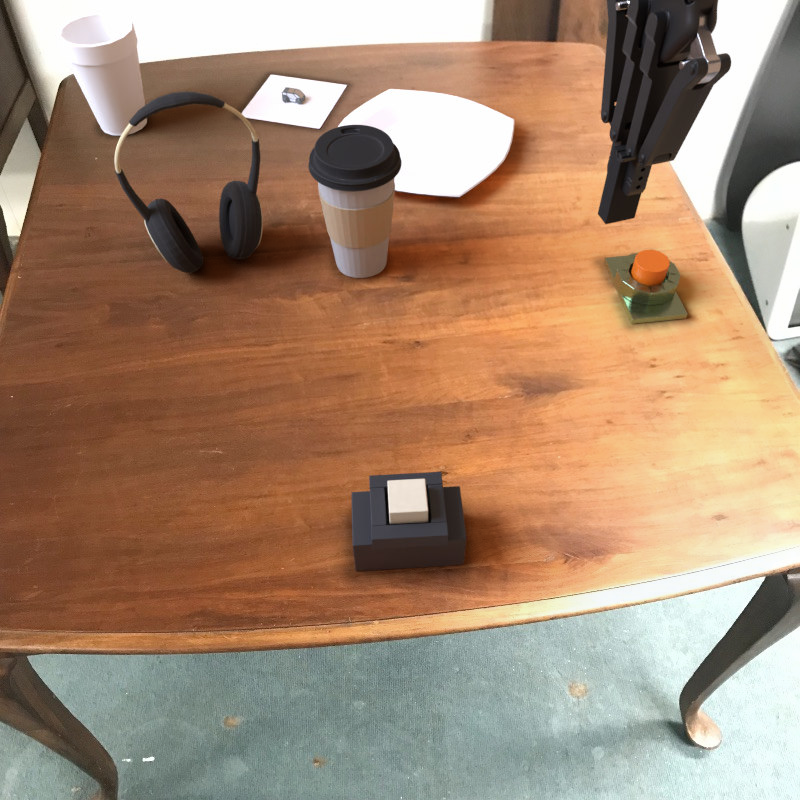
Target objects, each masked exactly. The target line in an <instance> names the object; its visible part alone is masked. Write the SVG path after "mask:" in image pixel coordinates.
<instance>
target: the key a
mask: <svg viewBox="0 0 800 800" xmlns="http://www.w3.org/2000/svg"><path fill="white" fill-rule="evenodd" d="M387 483H388V503H389V521H390V524H402V523H420V522H428V502H427V492H426V481H425V479H408V480H390V481H388V482H387Z"/></svg>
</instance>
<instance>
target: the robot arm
mask: <svg viewBox="0 0 800 800" xmlns="http://www.w3.org/2000/svg"><path fill="white" fill-rule="evenodd" d="M718 6H719V0H606V7H607V20H608V21H607V30H606V31H607V34H606V44H605V45H606V46H605V57H604V70H603V81H602V82H603V83H602V94H601V95H602V96H601V105H600V106H601V107H600V119H601V122H602V123H603V124H609V126H610V129H609V138H610V142H612V143H611V147H610V152H609V156H608V160H607V165H606V176H605V181H604V185H603V190H602V193H601V197H600V202H599V206H598V211H597V215H598V217H599V218H600V219H601V220H602V222H603V223H604V224H605V225H608V224H614V223H618V222H623V221H627V220H632V219H635V218H636V214H637V211H638V206H639V204H640V200H641V197H642V194H643V193H644V191H645V190H646V189H647V184H648V181H649V177H650V173H651V170H652V166H654V165H659V164H663V163H668V162H672V161H675V159H676V157H677V155H678V154H679V152H680V150H681V148H682V146H683V145H684V142H685V140H686V138H687V136H688V134H689V133H690V131H691V129H692V128H693V125H694V123H695V121H697V117H698V115H699V114H700V112H701V110H702V108H703V106H704V104H705V102H706V101H707V99H708V97H709V95H710V93H711V91H712V89H713V87H714V86H715V85H716V84H717V83H718V82H719V81H720V80H721V79H722V78H723V77H725V75H727V73H728V72H729V71H730V70H731V68H732V59H731V56H730V54H729V53H728V52H727V53H726V52H724V53H717V49H716V46H715V42H714V40H713V37H712V34H713V33H714V31H715V28H716V26H717V22H718Z"/></svg>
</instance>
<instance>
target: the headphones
mask: <svg viewBox="0 0 800 800" xmlns="http://www.w3.org/2000/svg"><path fill="white" fill-rule="evenodd" d="M189 105H190V106H191V105H201V106H202V105H204V106H211V107H216V108H219V109H222V108H223V109H225V110H226V111H228V112H230V113H232V114H234V115H235V116H236V117H238V118H239V119H240V120H241V121H242V122H243V124H244V125H245V126H246V127H247V129H248V130H249V132H250V134H251V153H252V154H251V162H250V163H251V165H250V170H249V175H248V180H247V183H246V181H243V180H231V181H229V182H227V183H226V184H225V186H224V187H223V188H222V191H221V193H220V199H219V208H218V209H219V211H218V223H219V232H220V239H221V243H222V247H223V249H224V251H225V253H226V254H227V255H228V256H229V257H230V258H232V259H235V260H245V259H248V258H249V257H250V256H251V255H252V254H253V253H254V252H255V251H256V249H257V248H259V246H260V244H261V241H262V237H263V228H264V227H263V226H264V225H263V224H264V221H263V220H264V218H263V209H262V204H261V200H260V197H259V196H258V194H257V192H258V185H259V178H260V167H261V148H260V147H261V146H260V139H259V138H258V135H257V132H256V130H255V128H254V126H253V125H252V124H251V122H250V121H249V120H248V118H245V117H244V116H243V115H242V114H241V113H242V112H240V111H239V110H237V109H236V108H235V107H233V106H231V105H229V104H227V103H226V102H225V100H222V99H220V98H218V97H215V96H214V95H211V94H207V93H202V92H197V91H189V90H187V91H176V92H169V93H167V94H163V95H161V96H158V97H155V98H154V99H152V100H150V101H148V103H145V106H144V107H142V108H141V109H139V110H138V111H137V113H136V114H135V115H134V116H133V117H132V118H131V120H130V121H129V124H128V126H127V127H126V129H125V130H124V132H123V133H122V135H121V136H120V137H119V139H118V141H117V144H116V147H115V150H114V151H115V152H114V169H115V170H114V172H115V175H116V177H117V179H118V182H119V184H120V186H121V188H122V190H123V192H124V193H125V195H126V196H127V198H128V199H129V201H130V202H131V203H132V205H133V207H134V208H135V209H136V210H137V212H138V213H139V214H140V216H141V217H142V219H143V220H144V226H145V229H146V231H147V234H148V235H149V238H150V240H151V242H152V243H153V245H154V247H155V248H156V250H157V252H158V253H159V254H160V256H161V258H163V260H164V261H165V262H166V263H167V264H168V265H169V266H170V267H171V268H172V269H173V270H177V271H180V272H183V273H186V274H191V273H195V272H197V271H198V270H200V269H201V268H202V267H203V264H204V256H203V253H202V250H201V249H200V246H199V244H198V242H197V239H196V238H195V236H194V234H193V233H192V231H191V229H190V228H189V226H188V224H187V222H186V221H185V219H184V218H183V216H182V215H181V214H180V212H179V210H177V209H176V208H175V206H174V205H173V204H172V202H170V201H169V200H167V199H165V198H156V199H154V200H152V201H150V202H149V203H148V204H146V203H145V202H144V201H143V200H142V199H141V197H140V196H139V195H138V194H137V193H136V191H135V189H134V188H133V186H131V184H130V182H129V180H128V178H127V177H126V176H127V175H125V173H124V170H123V169H122V168H121V164H120V157H121V150H122V147H123V145H124V142H125V140H126V139H127V136H129V135H130V134H129V132H130V131H131V130H132V128H133V127H134V126H137V125H138V124H139V123H140V122H142V121H143V120H145V119H146V118H147V119H149V118H150V117H152V116H154V115H156V114H158V113H159V112H164V111H166V110H170V109H171V110H172V109H177V108H181V107H185V106H189Z"/></svg>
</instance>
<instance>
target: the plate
mask: <svg viewBox="0 0 800 800" xmlns="http://www.w3.org/2000/svg"><path fill="white" fill-rule="evenodd" d="M515 123H516V121H515V119H514V118H512V117H510V116H508V115H506V114H504V113H502V112H499V111H497V110H496V109H493V108H490V107H488V106H487V105H484V104H481V103H479V102H476V101H473V100H471V99H468V98H465V97H461V96H457V95H452V94H447V93H442V92H434V91H425V90H414V89H413V90H412V89H397V88H388V89H387V90H385V91H383V92H381V93H379V94H377V95H376V96H374V97H372V98H370V99H368V101H366V102H364V103H362V104H360V106H358V107H357V108H355V109H354V110H352V111H351V112H350V113H349V114H348V115H346V116H345V117H344V118H343V119H342V121H341V122H340V123H339V124H338V126H337V127H340V126H345V125H367V126H371V127H375V128H378V129H380V130H382V131H384V132H385V133H386V134H388V135H389V136H390V138H391V139H392V141H393V143H394V144H395V145H396V147H397V148H398V150H399V152H400V157H401V161H402V165H401V169H400V171H399V173H398V174H397V175H396V177H395V179H394V183H395V192H397V193H403V194H409V195H417V196H426V197H438V198H449V199H450V198H451V199H460V198H462V197H463V196H465V195H466V194H467V193H469V192H471V191H472V190H473V189H475V188H476V187H478V186H479V185H480V184H481V183H483V182H484V181H486V179H488V178H490V176H491V175H493V174H494V173H495V172H496V171H497V170H498V169H499V168H500V166H501V165H502V164H503V163H504V161H505V160H506V158H507V156H508V154H509V152H510V150H511V146H512V143H513V139H514V133H515Z"/></svg>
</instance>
